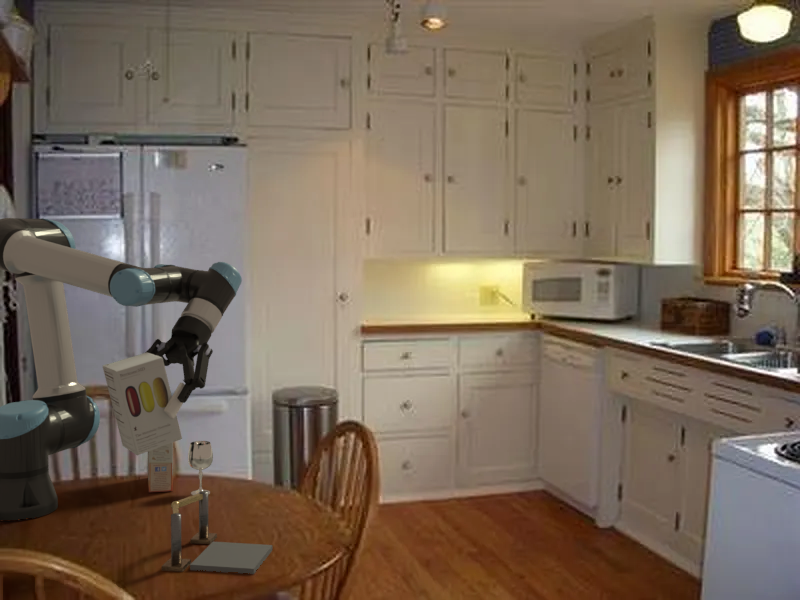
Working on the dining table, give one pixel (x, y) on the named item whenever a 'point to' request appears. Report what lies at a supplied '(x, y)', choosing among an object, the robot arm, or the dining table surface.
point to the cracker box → (160, 469)
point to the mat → (231, 557)
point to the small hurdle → (200, 538)
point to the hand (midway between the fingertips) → (144, 411)
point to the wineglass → (200, 459)
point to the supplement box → (141, 402)
